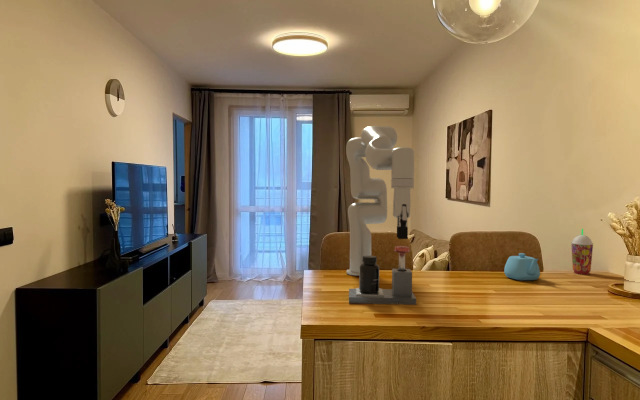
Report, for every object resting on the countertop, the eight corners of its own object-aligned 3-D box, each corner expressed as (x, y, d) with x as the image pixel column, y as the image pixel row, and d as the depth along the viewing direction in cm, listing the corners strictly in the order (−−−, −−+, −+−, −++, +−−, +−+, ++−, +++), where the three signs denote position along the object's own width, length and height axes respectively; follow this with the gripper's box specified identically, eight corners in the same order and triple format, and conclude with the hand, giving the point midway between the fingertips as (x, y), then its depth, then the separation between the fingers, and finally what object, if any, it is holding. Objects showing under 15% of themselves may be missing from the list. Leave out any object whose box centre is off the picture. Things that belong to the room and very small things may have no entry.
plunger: (393, 278, 147) (393, 245, 147) (408, 279, 147) (408, 246, 146) (395, 282, 142) (395, 248, 142) (410, 282, 142) (410, 248, 141)
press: (348, 294, 152) (349, 266, 152) (411, 295, 150) (411, 267, 150) (348, 303, 140) (348, 273, 140) (416, 304, 138) (416, 274, 138)
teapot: (524, 257, 167) (497, 251, 185) (524, 284, 168) (497, 275, 185) (552, 256, 170) (523, 250, 187) (552, 283, 170) (522, 274, 188)
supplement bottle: (378, 294, 142) (378, 258, 141) (358, 293, 143) (358, 257, 143) (379, 289, 148) (380, 255, 148) (360, 288, 150) (360, 254, 149)
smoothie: (567, 271, 194) (568, 227, 194) (586, 271, 193) (587, 228, 193) (575, 275, 186) (576, 229, 186) (596, 275, 185) (597, 229, 184)
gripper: (389, 184, 152) (388, 235, 152) (393, 183, 136) (393, 241, 136) (410, 184, 151) (409, 235, 152) (417, 184, 135) (417, 241, 136)
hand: (402, 237), depth 144 cm, fingers open, 2 cm apart
